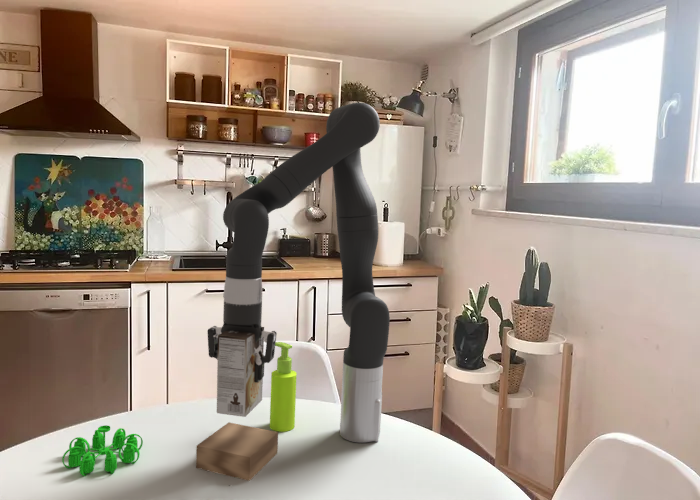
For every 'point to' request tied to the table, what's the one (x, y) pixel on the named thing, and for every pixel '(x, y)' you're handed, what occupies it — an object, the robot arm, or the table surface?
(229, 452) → the walnut block
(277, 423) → the soap dispenser
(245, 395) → the coffee box
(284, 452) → the table surface
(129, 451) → the chandelier
